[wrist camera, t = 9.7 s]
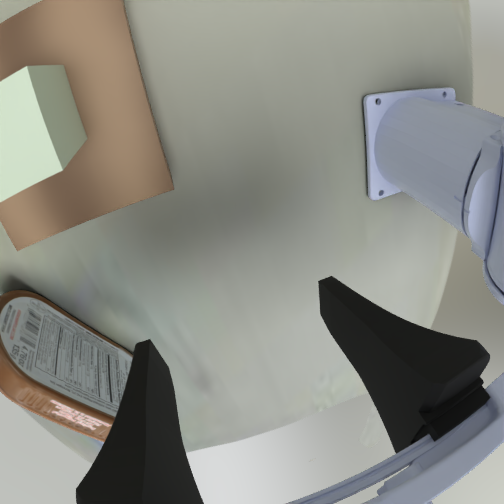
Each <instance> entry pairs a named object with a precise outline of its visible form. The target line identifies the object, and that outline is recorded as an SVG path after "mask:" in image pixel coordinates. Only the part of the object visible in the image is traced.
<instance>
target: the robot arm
mask: <svg viewBox="0 0 504 504" xmlns="http://www.w3.org/2000/svg"><path fill="white" fill-rule="evenodd" d="M376 99H378V102H377V104H376V103H375V100H376ZM363 104H364V116H365V129H366V146H367V171H368V197H369V198H370V199H372V200H378V199H381V198H384V197H387V196H390V195H393V194H396V193H399V192H402V191H403V192H405V193H406V194H408V195H409V196H411V197H412V198H414V199H415V200H417V201H418V202H420V203H421V204H423V205H424V206H426V207H427V208H429V209H430V210H431V211H433V212H434V213H436V214H437V215H438V216H440V217H441V218H443V219H444V220H445V221H447V222H448V223H450V224H451V225H452V226H454V227H455V228H456V229H458V230H459V231H460V232H462V233H463V234H464V235H466V236H467V237H468V238H470V240H471V242H472V251H473V252H474V253H475V254H476V255H478V256H479V257H480V258H481V259H482V260H483V261H484V262H483V275H484V279H485V282H486V285H487V287H488V288H489V290H490V291H491V293H492V294H493V296H494V297H495V298H496V299H497V300H498V301H499V302H500V303H502V304H503V305H504V117H501V116H499V115H496V114H493V113H491V112H488V111H485V110H482V109H480V108H476V107H474V106H471V105H468V104H465V103H462V102H459V101H456V100H455V90H454V89H453V88H450V87H446V88H429V89H416V90H404V91H395V92H386V93H377V94H369V95H366V96H365V98H364V101H363ZM380 190H381V192H380V193H379V191H380ZM378 193H379V194H378ZM318 282H319V298H320V314H321V316H322V318H323V320H324V322H325V324H326V326H327V328H328V330H329V332H330V333H331V335H332V336H333V338H334V339H335V341H336V342H337V344H338V345H339V347H340V348H341V349H342V351H343V352H344V354H345V355H346V357H347V358H348V359H349V361H350V362H351V364H352V365H353V367H354V368H355V370H356V371H357V373H358V374H359V376H360V377H361V379H362V381H363V383H364V385H365V387H366V389H367V390H368V392H369V394H370V396H371V398H372V400H373V402H374V404H375V406H376V408H377V410H378V412H379V415H380V417H381V419H382V421H383V423H384V426H385V428H386V430H387V433H388V435H389V437H390V440H391V442H392V445H393V447H394V450H395V452H396V454H395V455H393V456H392V457H390V458H388V459H386V460H384V461H382V462H381V463H379V464H377V465H375V466H373V467H371V468H369V469H367V470H365V471H363V472H361V473H359V474H357V475H355V476H353V477H351V478H348V479H346V480H344V481H342V482H340V483H338V484H335V485H333V486H331V487H328V488H326V489H323V490H321V491H318V492H316V493H313V494H311V495H309V496H306V497H303V498H300V499H298V500H295V501H292V502H289V503H286V504H333V503H336V502H338V501H340V500H343V499H345V498H347V497H349V496H352V495H354V494H356V493H358V492H360V491H362V490H364V489H366V488H368V487H370V486H372V485H374V484H376V483H378V482H380V481H382V480H384V479H385V478H387V477H389V476H391V475H393V474H394V473H396V472H398V471H400V470H401V469H403V468H405V467H407V466H408V465H409V467H408V468H406V469H404V470H403V471H401V472H400V473H398V474H397V475H395V476H394V477H392V478H390V479H389V480H387V481H385V483H384V485H383V486H382V487H381V488H380V489H378V490H377V493H378V495H379V496H377V497H375V498H373V499H371V500H369V501H367V502H365V503H362V504H433V503H432V501H431V500H433V499H434V498H436V497H437V496H438V495H440V494H441V493H443V492H444V491H445V490H447V489H448V488H450V487H451V486H452V485H454V484H455V483H456V482H457V481H459V480H460V479H461V478H463V477H464V476H465V475H466V474H468V473H469V472H470V471H471V470H473V469H474V468H475V467H476V466H477V465H479V464H480V463H481V462H482V461H483V460H484V459H485V458H487V457H488V456H489V455H490V454H491V453H492V452H493V451H494V450H495V449H497V448H498V447H499V446H500V444H502V443H503V442H504V373H502V374H501V375H500V376H499V377H498V378H497V379H496V380H495V381H493V382H492V383H491V384H490V385H489V386H488V387H487V388H486V389H484V388H483V386H482V384H483V383H484V382H483V380H482V379H481V378H480V375H481V374H482V372H483V370H484V369H485V367H486V366H487V364H488V362H489V360H490V354H489V353H488V352H487V351H486V350H485V348H484V347H483V346H482V345H481V344H480V343H479V342H478V341H477V340H471V339H465V338H460V337H455V336H451V335H447V334H443V333H440V332H436V331H433V330H430V329H427V328H424V327H422V326H419V325H416V324H414V323H411V322H409V321H407V320H404V319H402V318H400V317H398V316H396V315H394V314H392V313H390V312H388V311H386V310H385V309H383V308H381V307H379V306H378V305H376V304H374V303H372V302H371V301H369V300H368V299H366V298H364V297H363V296H361V295H360V294H358V293H356V292H355V291H353V290H352V289H350V288H349V287H347V286H346V285H344V284H343V283H342V282H340V281H339V280H337V279H336V278H334V277H332V276H330V277H328V278H325V279H322V280H320V281H318ZM76 502H77V504H204V503H203V500H202V498H201V496H200V493H199V491H198V488H197V485H196V483H195V480H194V477H193V474H192V471H191V468H190V466H189V462H188V459H187V456H186V452H185V449H184V445H183V441H182V437H181V431H180V425H179V419H178V412H177V405H176V398H175V391H174V386H173V382H172V378H171V374H170V370H169V367H168V366H167V364H166V363H165V361H164V360H163V358H162V357H161V355H160V354H159V352H158V350H157V349H156V347H155V346H154V344H153V343H152V341H151V340H150V339H149V340H146V341H143V342H139V343H137V344H136V346H135V350H134V354H133V359H132V363H131V367H130V371H129V375H128V378H127V382H126V386H125V389H124V393H123V396H122V399H121V402H120V405H119V408H118V411H117V414H116V417H115V419H114V422H113V424H112V427H111V429H110V431H109V434H108V436H107V438H106V440H105V442H104V444H103V446H102V448H101V450H100V452H99V454H98V456H97V457H96V459H95V461H94V463H93V464H92V466H91V468H90V470H89V471H88V473H87V474H86V476H85V477H84V479H83V480H82V481H81V483H80V484H79V486H78V487H77V488H76Z"/></svg>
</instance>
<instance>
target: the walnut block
mask: <svg viewBox="0 0 504 504" xmlns="http://www.w3.org/2000/svg"><path fill="white" fill-rule="evenodd" d="M38 65H64V68H65V71H66V75H67V78H68V81H69V85H70V88H71V91H72V94H73V98H74V101H75V104H76V107H77V110H78V113H79V116H80V119H81V122H82V124H83V127H84V130H85V133H86V136H87V140H86V141H85V142H84V144H83V145H82V146H81V147H80V149H79V150H78V151H77V153H76V154H75V155H74V156H73V158H72V159H71V160H70V162H69V163H68V164H67V166H66V167H65V168H64V170H63V171H61V172H58V173H56V174H54V175H52V176H50V177H48V178H46V179H44V180H42V181H40V182H38V183H36V184H34V185H32V186H30V187H28V188H26V189H24V190H22V191H20V192H18V193H17V194H15V195H13V196H11V197H9V198H7V199H6V200H4V201H2V202H0V221H1V223H2V225H3V226H4V228H5V230H6V232H7V234H8V236H9V237H10V239H11V241H12V243H13V245H14V246H15V248H16V250H17V251H19V250H21V249H23V248H25V247H27V246H30V245H32V244H34V243H36V242H39V241H41V240H43V239H45V238H48V237H50V236H52V235H55V234H57V233H59V232H62V231H64V230H67V229H69V228H71V227H74V226H76V225H79V224H81V223H84V222H86V221H89V220H91V219H94V218H96V217H99V216H102V215H104V214H107V213H109V212H112V211H115V210H117V209H120V208H123V207H125V206H128V205H131V204H134V203H136V202H139V201H142V200H145V199H148V198H150V197H153V196H156V195H159V194H162V193H165V192H168V191H171V190H174V186H173V182H172V177H171V173H170V170H169V167H168V163H167V160H166V157H165V154H164V150H163V147H162V144H161V141H160V137H159V134H158V130H157V127H156V124H155V120H154V117H153V113H152V110H151V106H150V103H149V99H148V96H147V92H146V88H145V85H144V81H143V77H142V74H141V70H140V66H139V62H138V59H137V55H136V51H135V47H134V43H133V39H132V35H131V31H130V27H129V23H128V18H127V14H126V10H125V5H124V1H123V0H42V1H40V2H38V3H36V4H34V5H32V6H30V7H28V8H27V9H25V10H23V11H21V12H19V13H17V14H16V15H14V16H12V17H11V18H9V19H7V20H5V21H4V22H2V23H1V24H0V82H1V81H2V80H4V79H6V78H7V77H9V76H10V75H12V74H14V73H15V72H17V71H19V70H21V69H22V68H24V67H26V66H38Z"/></svg>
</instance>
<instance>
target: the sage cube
mask: <svg viewBox="0 0 504 504" xmlns="http://www.w3.org/2000/svg"><path fill="white" fill-rule="evenodd" d="M86 140H87V136H86V133H85V130H84V127H83V124H82V122H81V119H80V116H79V113H78V110H77V107H76V104H75V101H74V98H73V94H72V91H71V88H70V85H69V81H68V78H67V75H66V71H65V68H64V65H38V66H26V67H24V68H22V69H21V70H19V71H17V72H15V73H14V74H12V75H10V76H9V77H7V78H6V79H4V80H2V81H1V82H0V202H2V201H4V200H6V199H7V198H9V197H11V196H13V195H15V194H17V193H18V192H20V191H22V190H24V189H26V188H28V187H30V186H32V185H34V184H36V183H38V182H40V181H42V180H44V179H46V178H48V177H50V176H52V175H54V174H56V173H58V172H61V171H63V170H64V168H65V167H66V166H67V164H68V163H69V162H70V160H71V159H72V158H73V156H74V155H75V154H76V153H77V151H78V150H79V149H80V147H81V146H82V145H83V144H84V142H85V141H86Z"/></svg>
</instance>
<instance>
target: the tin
mask: <svg viewBox="0 0 504 504" xmlns="http://www.w3.org/2000/svg"><path fill="white" fill-rule="evenodd" d="M132 359H133V355H132V354H131V353H130V352H128V351H127V350H126V349H124V348H123V347H121V346H119V345H118V344H116V343H114V342H113V341H111V340H109V339H108V338H106V337H104V336H103V335H101V334H99V333H98V332H96V331H95V330H93V329H91V328H90V327H88V326H87V325H85V324H83V323H82V322H80V321H79V320H77V319H76V318H74V317H73V316H71V315H70V314H68V313H67V312H65V311H64V310H62V309H61V308H59V307H58V306H56V305H55V304H53V303H52V302H51V301H49V300H47V299H46V298H44V297H42V296H40V295H38V294H35V293H33V292H29V291H25V290H15V291H10V292H7V293H4V294H3V295H1V296H0V392H1V393H2V394H4V395H5V396H6V397H7V398H8V399H10V400H11V401H12V402H14V403H16V404H17V405H19V406H21V407H23V408H25V409H27V410H29V411H31V412H33V413H35V414H37V415H39V416H42V417H44V418H46V419H48V420H50V421H52V422H55V423H57V424H59V425H62V426H64V427H67V428H69V429H71V430H74V431H76V432H79V433H81V434H84V435H86V436H89V437H92V438H94V439H97V440H99V441H102V442H105V440H106V438H107V436H108V434H109V431H110V429H111V427H112V424H113V422H114V419H115V417H116V414H117V411H118V408H119V405H120V402H121V399H122V396H123V393H124V389H125V386H126V382H127V378H128V375H129V371H130V367H131V363H132Z"/></svg>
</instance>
